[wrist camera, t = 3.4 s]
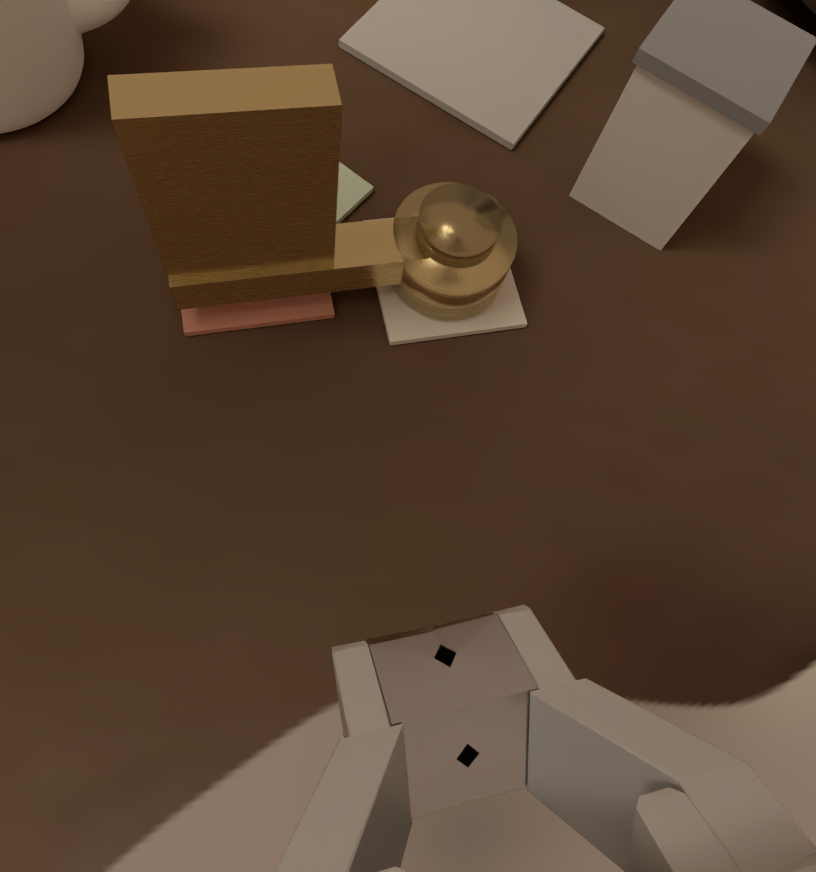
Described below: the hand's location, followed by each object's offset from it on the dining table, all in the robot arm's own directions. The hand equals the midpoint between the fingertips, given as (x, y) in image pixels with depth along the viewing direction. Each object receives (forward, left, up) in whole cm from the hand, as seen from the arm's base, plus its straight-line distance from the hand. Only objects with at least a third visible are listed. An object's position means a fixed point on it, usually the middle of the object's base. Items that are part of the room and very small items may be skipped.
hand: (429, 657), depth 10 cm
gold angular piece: (+12, +9, -14) cm, 21 cm away
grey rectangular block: (+25, +1, -14) cm, 29 cm away
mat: (+28, +12, -14) cm, 34 cm away
